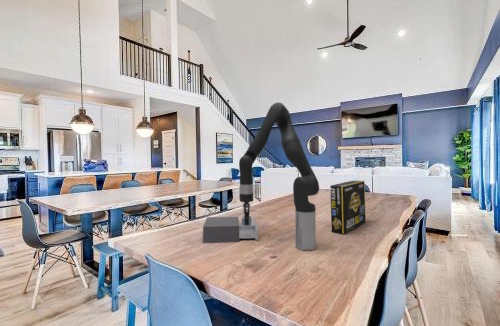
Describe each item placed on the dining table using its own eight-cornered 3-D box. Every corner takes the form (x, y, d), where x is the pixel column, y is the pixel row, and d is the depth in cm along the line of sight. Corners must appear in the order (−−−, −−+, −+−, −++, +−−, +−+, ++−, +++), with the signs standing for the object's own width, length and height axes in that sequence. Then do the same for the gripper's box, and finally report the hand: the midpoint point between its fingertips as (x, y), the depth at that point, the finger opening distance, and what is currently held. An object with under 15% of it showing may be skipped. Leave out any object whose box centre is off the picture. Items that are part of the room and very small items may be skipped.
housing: (238, 230, 149) (238, 216, 149) (239, 241, 129) (239, 225, 129) (207, 231, 148) (207, 217, 148) (203, 242, 128) (203, 226, 128)
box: (344, 235, 138) (344, 185, 137) (329, 232, 144) (329, 184, 143) (366, 223, 163) (366, 181, 162) (353, 220, 168) (353, 180, 167)
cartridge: (251, 225, 138) (251, 218, 137) (242, 225, 137) (242, 218, 137) (250, 223, 142) (251, 216, 141) (241, 223, 141) (241, 216, 141)
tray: (254, 229, 150) (254, 216, 149) (258, 240, 130) (258, 225, 129) (224, 230, 148) (223, 217, 148) (222, 241, 128) (222, 226, 128)
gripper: (254, 194, 132) (254, 227, 133) (252, 190, 146) (252, 220, 147) (239, 194, 132) (239, 227, 132) (239, 190, 146) (239, 220, 146)
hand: (246, 223), depth 139 cm, fingers closed on cartridge, 4 cm apart
